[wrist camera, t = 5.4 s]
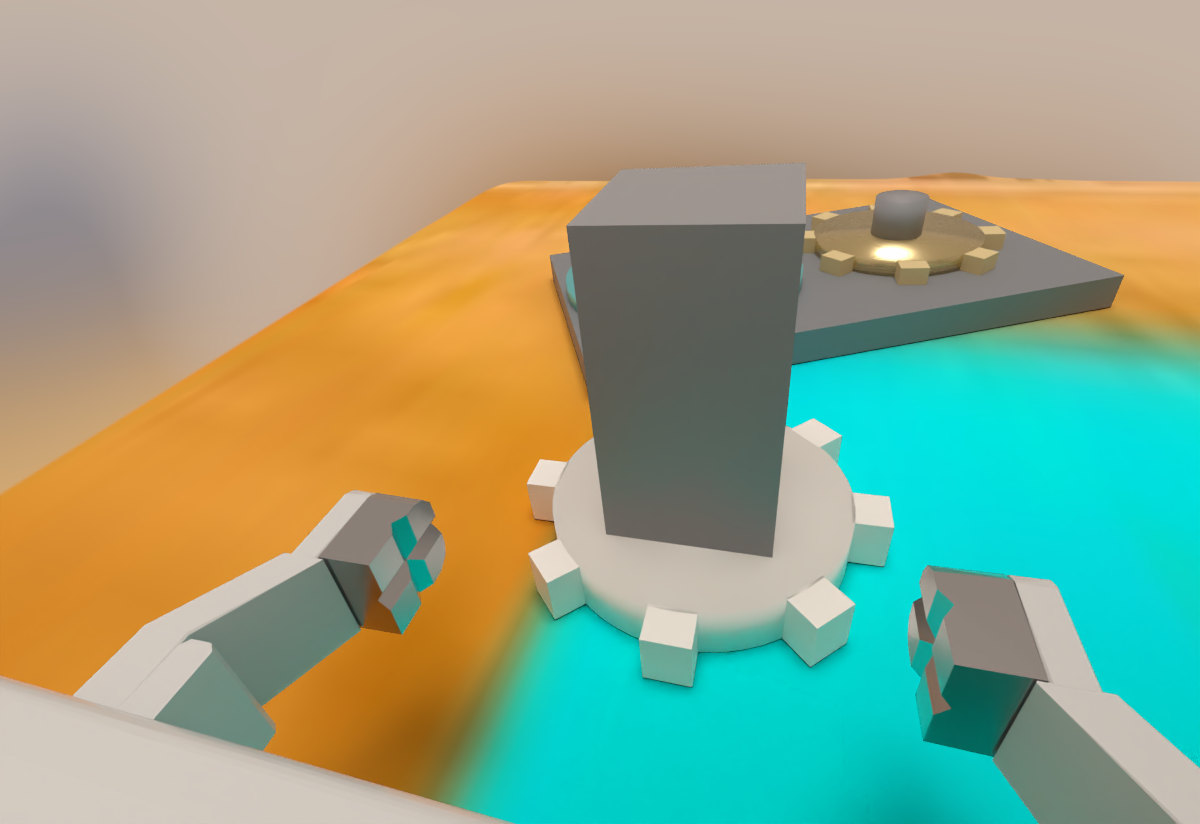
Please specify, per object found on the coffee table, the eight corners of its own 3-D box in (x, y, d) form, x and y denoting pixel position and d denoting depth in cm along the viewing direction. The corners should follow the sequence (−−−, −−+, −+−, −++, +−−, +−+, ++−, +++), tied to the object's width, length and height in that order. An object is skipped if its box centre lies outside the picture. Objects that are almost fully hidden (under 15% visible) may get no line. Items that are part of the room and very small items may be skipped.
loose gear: (867, 439, 21) (928, 130, 15) (906, 731, 13) (1069, 301, 7) (586, 416, 24) (549, 148, 18) (472, 641, 16) (342, 284, 10)
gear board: (919, 220, 38) (933, 152, 36) (1110, 306, 27) (1149, 215, 25) (553, 279, 36) (543, 211, 34) (591, 400, 25) (579, 309, 22)
